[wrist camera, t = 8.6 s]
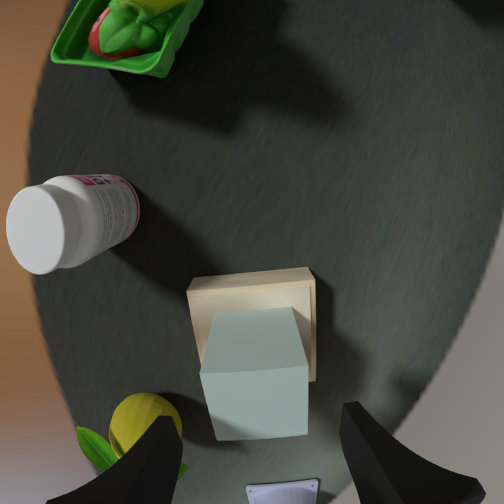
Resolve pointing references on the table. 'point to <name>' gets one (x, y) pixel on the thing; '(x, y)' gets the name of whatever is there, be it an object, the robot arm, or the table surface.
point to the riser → (256, 302)
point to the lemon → (127, 429)
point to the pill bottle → (70, 220)
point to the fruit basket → (126, 34)
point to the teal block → (256, 375)
